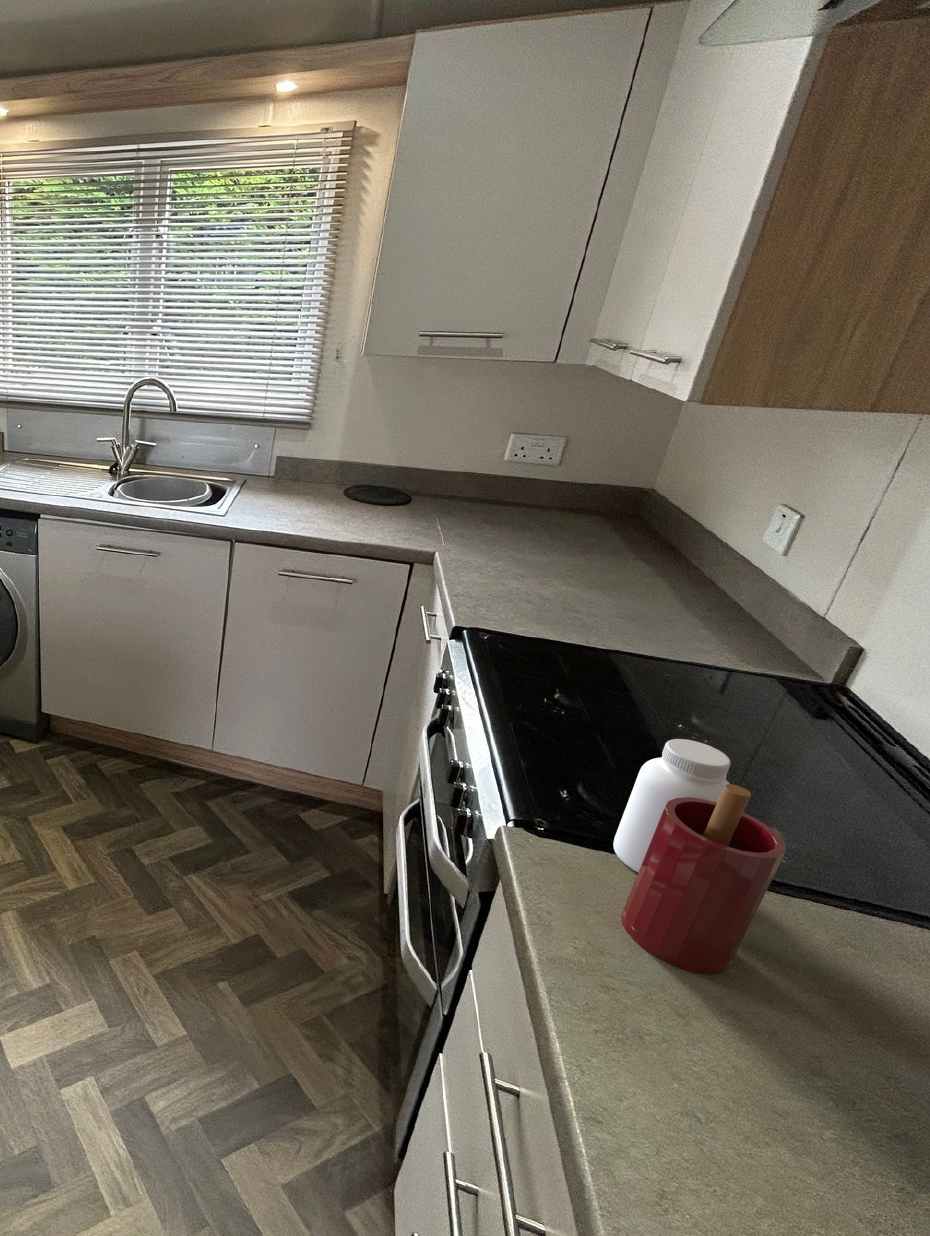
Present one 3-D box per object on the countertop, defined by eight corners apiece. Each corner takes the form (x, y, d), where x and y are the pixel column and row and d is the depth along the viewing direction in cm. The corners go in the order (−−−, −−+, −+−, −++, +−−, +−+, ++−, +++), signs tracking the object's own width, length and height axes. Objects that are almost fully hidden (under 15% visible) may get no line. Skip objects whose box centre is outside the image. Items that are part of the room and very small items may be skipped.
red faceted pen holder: (650, 896, 76) (695, 788, 71) (747, 956, 69) (805, 842, 64) (602, 920, 73) (646, 809, 68) (699, 986, 66) (756, 868, 61)
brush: (661, 904, 74) (719, 768, 68) (719, 941, 70) (787, 799, 64) (632, 919, 72) (690, 780, 66) (690, 958, 68) (757, 813, 62)
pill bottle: (594, 846, 84) (634, 737, 78) (642, 832, 86) (685, 726, 80) (666, 895, 76) (716, 780, 71) (717, 879, 79) (769, 766, 73)
